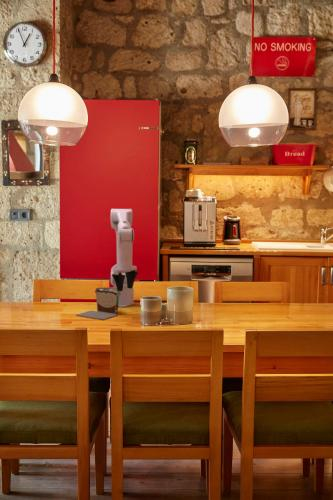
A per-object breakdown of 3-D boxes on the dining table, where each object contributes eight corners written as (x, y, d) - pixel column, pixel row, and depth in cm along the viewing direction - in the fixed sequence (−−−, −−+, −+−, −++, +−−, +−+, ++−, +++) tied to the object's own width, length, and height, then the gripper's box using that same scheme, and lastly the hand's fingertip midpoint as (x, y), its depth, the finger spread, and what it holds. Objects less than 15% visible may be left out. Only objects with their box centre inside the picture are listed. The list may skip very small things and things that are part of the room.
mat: (91, 311, 237) (91, 310, 236) (117, 315, 230) (117, 314, 230) (76, 315, 228) (76, 314, 228) (103, 320, 221) (103, 319, 221)
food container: (126, 312, 236) (126, 289, 235) (118, 314, 231) (118, 291, 230) (103, 308, 243) (103, 286, 242) (94, 311, 237) (94, 288, 236)
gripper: (123, 260, 223) (123, 293, 224) (142, 256, 235) (142, 288, 237) (109, 258, 226) (108, 291, 227) (128, 255, 239) (128, 286, 240)
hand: (125, 289), depth 232 cm, fingers open, 7 cm apart
